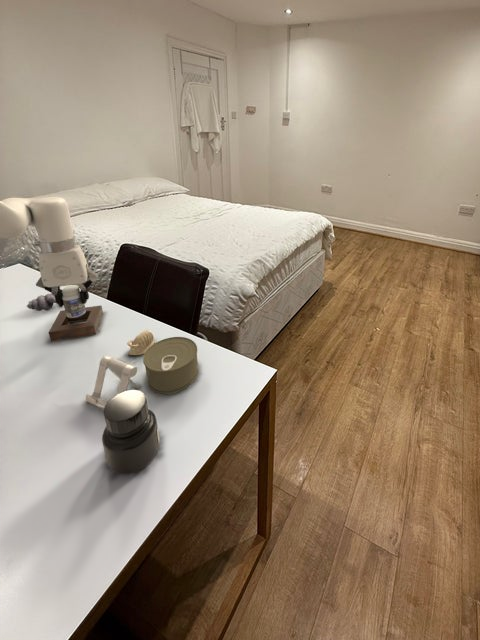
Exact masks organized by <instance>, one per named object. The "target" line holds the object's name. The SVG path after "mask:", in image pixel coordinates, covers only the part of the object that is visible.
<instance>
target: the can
mask: <svg viewBox="0 0 480 640" xmlns="http://www.w3.org/2000/svg"><path fill="white" fill-rule="evenodd" d="M198 364H199V363H198V345H197V344H196V342H195V341H194V340H192V339H191V338H188V337H185V336H173V337H171V336H170V337H166V338H163V339H161V340H159V341H157V342H154V344H153V345H152V346H151V347H150V348H149V349H148V350H147V351H146V353H144V354H143V365H144V367H145V368H144V369H145V373H146V380H147V385H148V387H149V388H150V389H151V390H152V391H153V392H155V393H157V394H160V395H171V394H176V393H179V392H181V391H183V390H185V389H187V388H189V386H192V384H193V383H194V382H195V381H196V379H197V377H198V374H199V365H198Z"/></svg>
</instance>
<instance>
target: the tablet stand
mask: <svg viewBox="0 0 480 640" xmlns="http://www.w3.org/2000/svg"><path fill="white" fill-rule="evenodd" d="M107 370H109V371H110V372H111V373H112V374H114V376H116V377H117V378H118V379H119V385H118V390H117V394H119V393H122V392H124V391H128V385H129V384H130V385H131V386H132V387H134V388H136V389H138V388H139V385H137V384H136V383H135V382H134V381H133V380H132V379H131V378H133V377H134V376H136V374H137V372H138V368H137V367H136V366H134V365H131V364H129V363H126V362H124V361H122V360H119V359H117V358H115V357H113V356H112V357H111V356H110V355H104V356H102V358H101V359H100V360H99V364H98V370H97V373H96V378H95V384H94V388H93V392H92V395H89V394H85V401H86V402H87V403H90V404H92V405H94V406H95V407H98V408H100V409H102V410H104V408H105V405H106V404H107V403H108V402H109V400H106V399H104V398H101V396H102V391H103V386H104V382H105V377H106V372H107Z"/></svg>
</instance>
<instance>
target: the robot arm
mask: <svg viewBox="0 0 480 640" xmlns="http://www.w3.org/2000/svg"><path fill="white" fill-rule="evenodd" d="M32 225H33V226H35V229H36V234H37V236H38V240H36V241H34V242H33V247H34V248H40V251H38V265H39V266H38V267H39V273H40V277H39V278H38V280H37V281H36V283H35V286H36V287H38V288H41V289H44V290H45V291H47V292H48V293H50V294H52V295H54V296H55V300H56V303H58V304H57V305H58V306H59V308H63V307H64V304H63V300H62V296H63V293H62V289H63V288H62V289H61V287H67V286H71V285H77V286H79V289H80V297H81V301H82V304H86V303H87V301H88V300H89V299H90V293H89V290H88V289H89V287H91V285H92V284H93V283H95V282H96V281H97V280H98V279H99V276H100V275H99V274H97V273H96V272H94V271H93V270H92V269H91V268H89V265H88V261H87V259H86V256H85V254H84V251H83V249H82V248H81V246H80V245H79V244H77V239H76V235H75V231H74V227H73V222H72V217H71V213H70V209H69V204H68V202H67V200H66V199H64V198H63V197H60V196H44V197H38V198H31V197H29V198H28V197H8V198H4V199H2V200H0V239H14V238H17V237H20V236H21V235H23V234H24V233H25V232H26V231H27V230H28V229H29V227H30V226H32ZM88 277H89V278H88ZM56 303H55V304H56Z"/></svg>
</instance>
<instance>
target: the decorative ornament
mask: <svg viewBox="0 0 480 640" xmlns="http://www.w3.org/2000/svg"><path fill="white" fill-rule="evenodd" d="M126 344H127V346H128V347H130V350H129V353H128V355H130V356H131V355H132V356H140V355H144V354H145V353H146V351H147V350H148V349H149V348H150V347H151V346H152V345H153V344H155V339H154V335H153V333H152V332H151V331H150V330H144V331H142V332H140V333H139V334H138V335H137V336H135V338H134V339H131V340H128V341H127V342H126Z"/></svg>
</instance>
